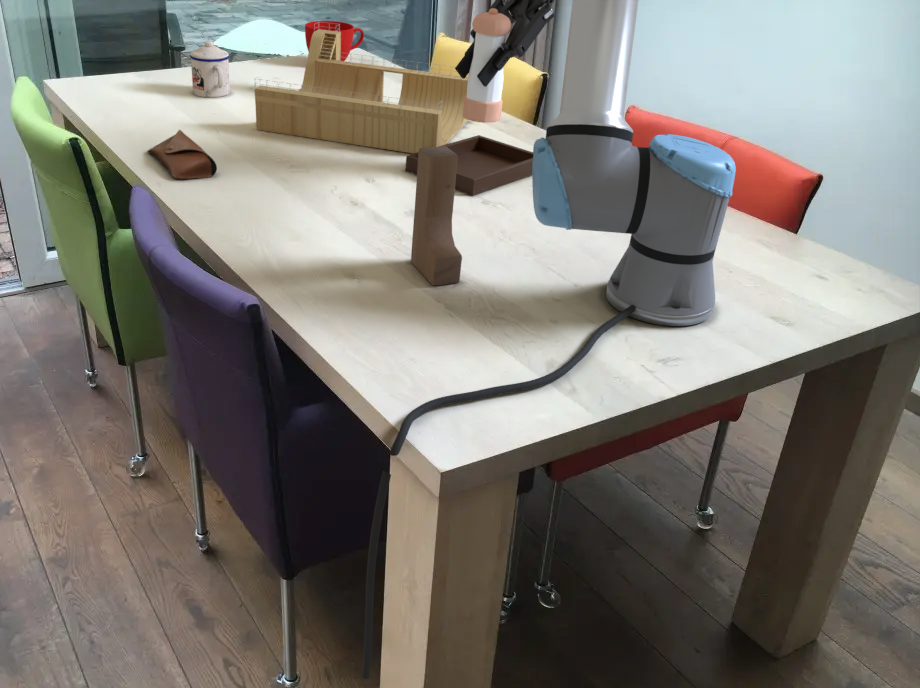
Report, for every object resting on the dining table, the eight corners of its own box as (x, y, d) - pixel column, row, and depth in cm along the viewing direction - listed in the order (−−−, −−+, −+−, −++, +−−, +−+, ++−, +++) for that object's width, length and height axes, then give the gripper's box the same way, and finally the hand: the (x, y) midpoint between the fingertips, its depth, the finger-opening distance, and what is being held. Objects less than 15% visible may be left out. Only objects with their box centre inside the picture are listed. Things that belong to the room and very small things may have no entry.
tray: (472, 196, 166) (474, 179, 164) (405, 171, 175) (406, 155, 174) (543, 171, 179) (545, 156, 177) (477, 149, 189) (478, 134, 187)
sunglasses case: (143, 149, 177) (158, 118, 175) (174, 163, 181) (189, 133, 180) (174, 179, 164) (190, 145, 162) (206, 193, 169) (222, 161, 167)
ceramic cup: (374, 67, 244) (375, 28, 239) (318, 72, 237) (318, 32, 231) (351, 56, 254) (352, 18, 248) (296, 61, 246) (296, 22, 241)
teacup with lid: (187, 89, 217) (183, 38, 210) (223, 86, 221) (220, 36, 214) (203, 102, 208) (200, 49, 202) (240, 99, 212) (238, 47, 205)
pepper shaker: (454, 115, 171) (464, 6, 161) (481, 109, 175) (493, 3, 165) (481, 125, 167) (494, 14, 156) (508, 119, 171) (522, 10, 160)
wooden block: (460, 283, 135) (472, 165, 125) (432, 286, 133) (442, 167, 123) (436, 259, 141) (446, 145, 132) (409, 262, 140) (417, 147, 130)
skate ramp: (255, 134, 193) (252, 55, 184) (318, 91, 221) (318, 21, 212) (434, 161, 183) (440, 80, 174) (477, 113, 211) (484, 41, 202)
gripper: (593, -2, 161) (513, 103, 162) (522, -19, 173) (448, 79, 174) (577, -33, 155) (494, 75, 156) (505, -49, 167) (428, 52, 168)
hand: (470, 77), depth 165 cm, fingers closed on pepper shaker, 5 cm apart
